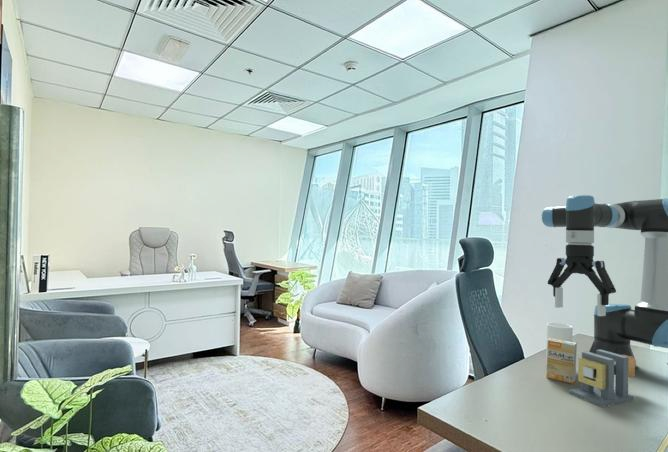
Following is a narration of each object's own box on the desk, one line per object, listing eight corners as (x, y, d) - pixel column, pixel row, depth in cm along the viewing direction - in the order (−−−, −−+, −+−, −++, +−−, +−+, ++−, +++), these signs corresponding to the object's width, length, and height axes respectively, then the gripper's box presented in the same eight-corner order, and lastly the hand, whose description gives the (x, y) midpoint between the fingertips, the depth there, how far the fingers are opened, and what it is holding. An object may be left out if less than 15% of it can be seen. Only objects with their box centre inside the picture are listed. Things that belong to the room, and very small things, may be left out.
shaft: (623, 373, 122) (623, 354, 122) (634, 376, 119) (634, 357, 119) (582, 380, 114) (582, 360, 114) (593, 384, 111) (593, 364, 111)
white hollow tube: (575, 373, 135) (576, 328, 135) (550, 371, 136) (551, 326, 137) (566, 365, 143) (567, 323, 143) (542, 363, 144) (543, 321, 145)
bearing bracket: (599, 387, 122) (600, 348, 123) (634, 399, 113) (634, 357, 114) (568, 393, 117) (569, 352, 117) (602, 407, 107) (603, 362, 108)
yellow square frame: (582, 380, 117) (582, 357, 117) (606, 388, 110) (606, 364, 111) (578, 380, 116) (578, 358, 116) (602, 389, 110) (602, 365, 110)
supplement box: (545, 378, 129) (546, 339, 130) (548, 374, 133) (549, 337, 133) (574, 384, 124) (574, 344, 124) (576, 380, 128) (576, 342, 128)
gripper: (536, 242, 129) (535, 304, 129) (614, 245, 106) (613, 320, 106) (551, 243, 132) (551, 303, 132) (630, 245, 109) (630, 319, 109)
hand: (579, 311), depth 119 cm, fingers open, 13 cm apart
